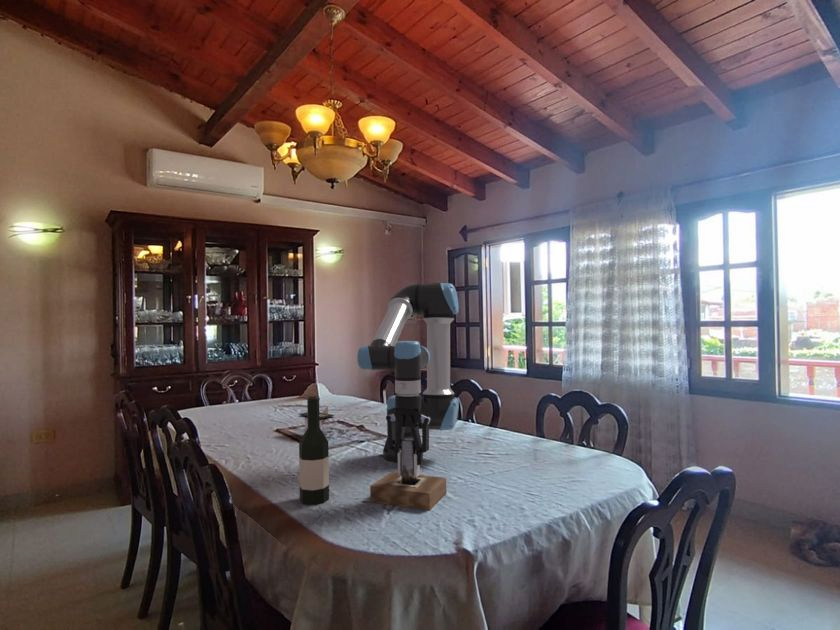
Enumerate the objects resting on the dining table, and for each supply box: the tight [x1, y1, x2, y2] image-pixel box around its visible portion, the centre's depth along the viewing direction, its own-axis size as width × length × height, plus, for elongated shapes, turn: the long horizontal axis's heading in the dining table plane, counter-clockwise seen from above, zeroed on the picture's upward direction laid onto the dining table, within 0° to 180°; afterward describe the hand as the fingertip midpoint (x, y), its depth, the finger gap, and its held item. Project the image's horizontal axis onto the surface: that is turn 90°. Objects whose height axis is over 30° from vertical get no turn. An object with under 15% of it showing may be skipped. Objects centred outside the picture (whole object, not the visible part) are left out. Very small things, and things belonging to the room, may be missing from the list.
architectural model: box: [298, 406, 335, 432], centre depth 223 cm, size 35×28×14 cm
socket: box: [369, 471, 447, 511], centre depth 148 cm, size 18×14×5 cm
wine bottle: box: [298, 394, 330, 506], centre depth 147 cm, size 8×8×30 cm
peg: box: [401, 438, 417, 485], centre depth 148 cm, size 4×4×14 cm
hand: (408, 474), depth 148 cm, fingers closed on peg, 4 cm apart
